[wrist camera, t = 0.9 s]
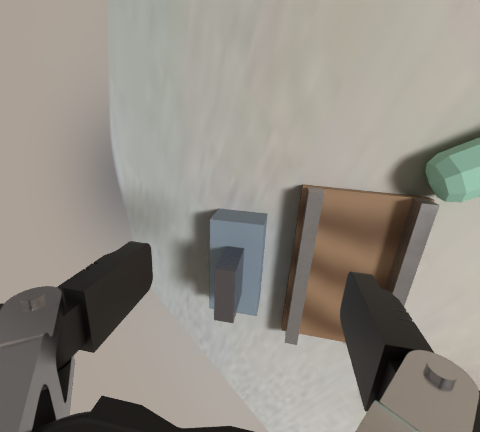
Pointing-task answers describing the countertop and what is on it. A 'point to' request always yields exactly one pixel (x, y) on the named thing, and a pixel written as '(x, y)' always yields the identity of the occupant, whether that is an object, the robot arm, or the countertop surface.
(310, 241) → the tray
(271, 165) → the countertop surface
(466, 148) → the mint green cylinder
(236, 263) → the blue block with handle
